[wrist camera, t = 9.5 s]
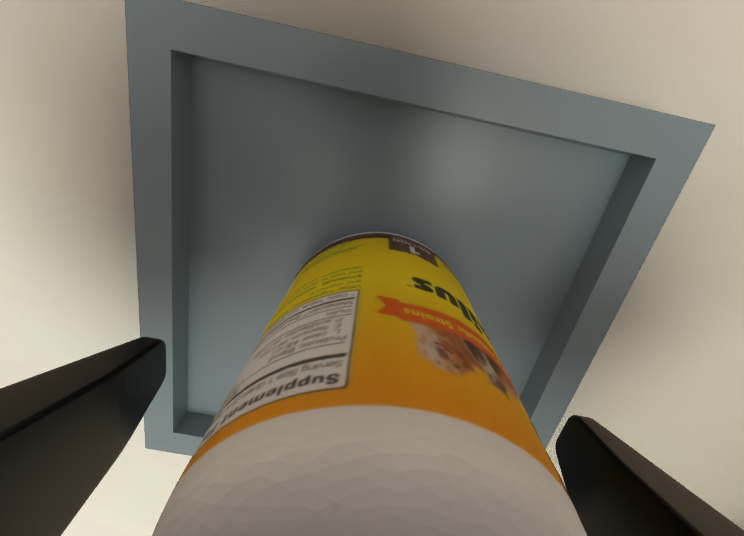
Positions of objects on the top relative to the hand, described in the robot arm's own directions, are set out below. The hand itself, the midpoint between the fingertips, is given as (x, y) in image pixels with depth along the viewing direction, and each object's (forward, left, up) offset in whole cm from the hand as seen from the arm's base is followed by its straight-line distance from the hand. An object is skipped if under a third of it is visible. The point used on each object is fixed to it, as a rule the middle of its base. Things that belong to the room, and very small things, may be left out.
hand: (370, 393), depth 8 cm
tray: (0, 0, -5) cm, 5 cm away
